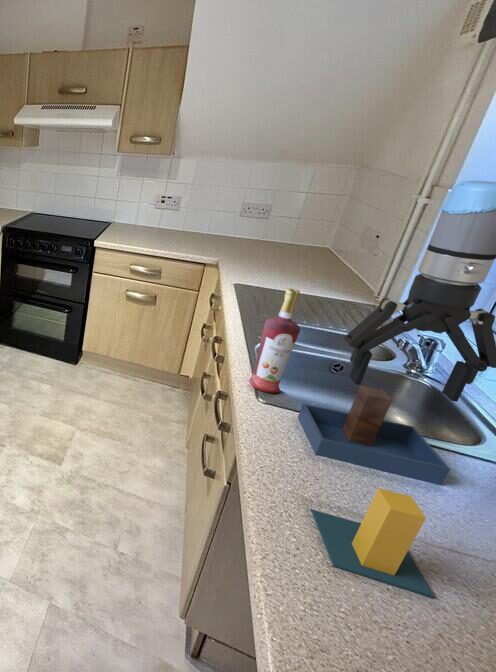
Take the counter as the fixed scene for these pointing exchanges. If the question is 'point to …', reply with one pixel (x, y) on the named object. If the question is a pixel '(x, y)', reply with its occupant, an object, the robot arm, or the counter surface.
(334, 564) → the mat
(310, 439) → the bin
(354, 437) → the walnut piece
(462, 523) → the counter surface
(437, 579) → the counter surface
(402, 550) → the mustard piece
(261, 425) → the counter surface
